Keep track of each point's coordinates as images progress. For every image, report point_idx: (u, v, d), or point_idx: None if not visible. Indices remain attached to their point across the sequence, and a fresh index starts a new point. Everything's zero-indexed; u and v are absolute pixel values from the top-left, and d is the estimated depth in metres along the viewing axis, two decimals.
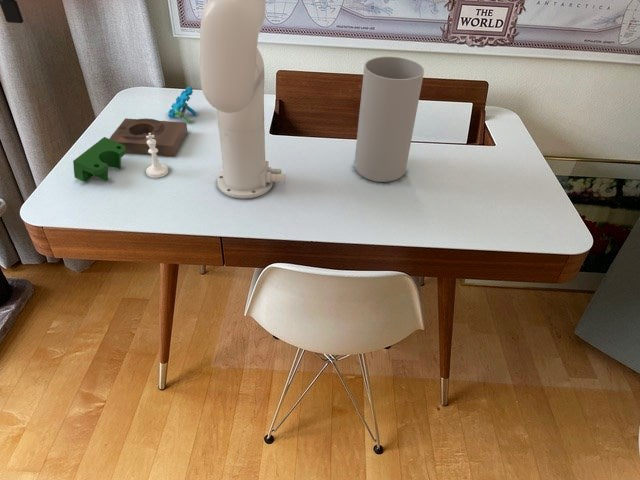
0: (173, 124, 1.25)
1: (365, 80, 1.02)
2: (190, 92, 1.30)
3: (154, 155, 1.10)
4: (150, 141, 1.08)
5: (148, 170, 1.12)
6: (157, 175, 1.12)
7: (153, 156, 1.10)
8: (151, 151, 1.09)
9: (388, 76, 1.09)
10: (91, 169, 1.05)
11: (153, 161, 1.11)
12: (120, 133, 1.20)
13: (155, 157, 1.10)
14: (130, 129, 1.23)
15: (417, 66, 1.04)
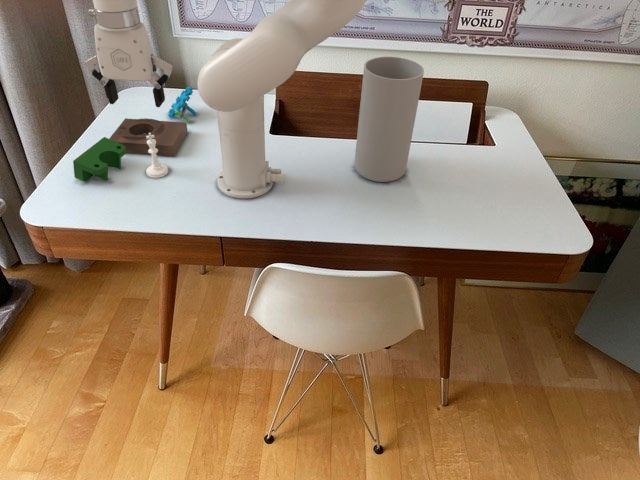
0: (173, 124, 1.25)
1: (365, 80, 1.02)
2: (190, 92, 1.30)
3: (154, 155, 1.10)
4: (150, 141, 1.08)
5: (148, 170, 1.12)
6: (157, 175, 1.12)
7: (153, 156, 1.10)
8: (151, 151, 1.09)
9: (388, 76, 1.09)
10: (91, 169, 1.05)
11: (153, 161, 1.11)
12: (120, 133, 1.20)
13: (155, 157, 1.10)
14: (130, 129, 1.23)
15: (417, 66, 1.04)
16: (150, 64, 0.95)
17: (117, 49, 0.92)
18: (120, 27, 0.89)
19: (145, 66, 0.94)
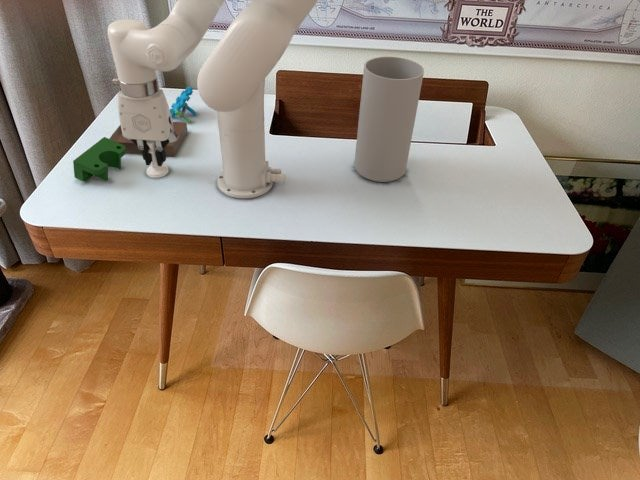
0: (173, 124, 1.25)
1: (365, 80, 1.02)
2: (190, 92, 1.30)
3: (154, 155, 1.10)
4: (150, 141, 1.08)
5: (148, 170, 1.12)
6: (157, 175, 1.12)
7: (153, 156, 1.10)
8: (151, 151, 1.09)
9: (388, 76, 1.09)
10: (91, 169, 1.05)
11: (153, 161, 1.11)
12: (120, 133, 1.20)
13: (155, 157, 1.10)
14: None
15: (417, 66, 1.04)
16: (168, 126, 1.04)
17: (138, 114, 1.01)
18: (141, 96, 0.98)
19: (163, 128, 1.03)
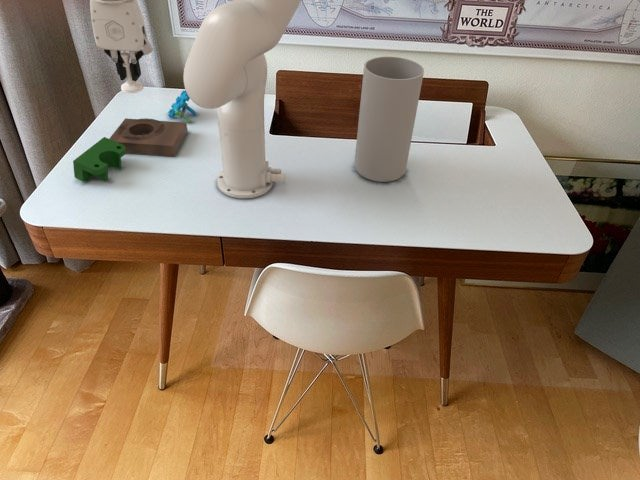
0: (173, 124, 1.25)
1: (365, 80, 1.02)
2: None
3: (128, 69, 1.10)
4: (124, 53, 1.07)
5: (123, 86, 1.12)
6: (132, 91, 1.11)
7: (127, 70, 1.10)
8: (125, 64, 1.09)
9: (388, 76, 1.09)
10: (91, 169, 1.05)
11: (128, 76, 1.10)
12: (120, 133, 1.20)
13: (129, 72, 1.10)
14: (130, 129, 1.23)
15: (417, 66, 1.04)
16: (141, 35, 1.03)
17: (111, 20, 1.00)
18: (114, 0, 0.97)
19: (137, 37, 1.03)
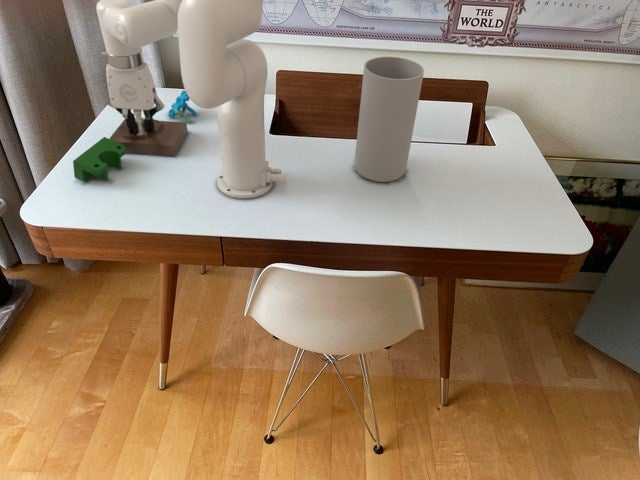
0: (173, 124, 1.25)
1: (365, 80, 1.02)
2: None
3: (140, 123, 1.21)
4: (136, 110, 1.18)
5: None
6: None
7: (139, 124, 1.21)
8: (137, 119, 1.20)
9: (388, 76, 1.09)
10: (91, 169, 1.05)
11: (139, 129, 1.22)
12: (120, 133, 1.20)
13: (141, 125, 1.21)
14: None
15: (417, 66, 1.04)
16: (152, 96, 1.15)
17: (125, 85, 1.12)
18: (127, 68, 1.09)
19: (148, 98, 1.14)
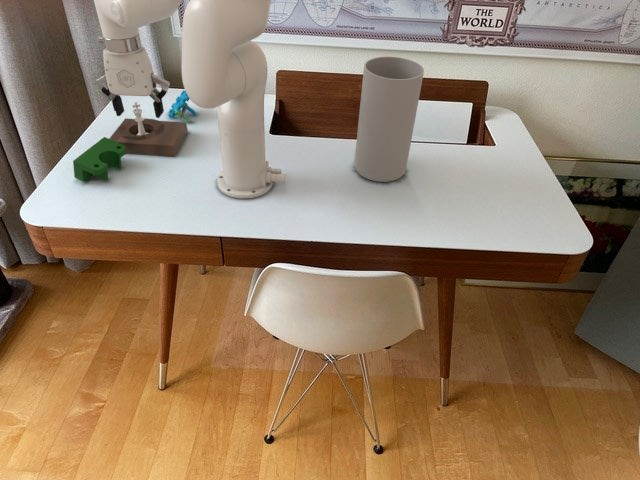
0: (173, 124, 1.25)
1: (365, 80, 1.02)
2: None
3: (140, 123, 1.21)
4: (136, 110, 1.18)
5: None
6: None
7: (139, 124, 1.21)
8: (137, 119, 1.20)
9: (388, 76, 1.09)
10: (91, 169, 1.05)
11: (139, 129, 1.22)
12: (120, 133, 1.20)
13: (141, 125, 1.21)
14: (130, 129, 1.23)
15: (417, 66, 1.04)
16: (150, 81, 1.12)
17: (122, 70, 1.09)
18: (124, 51, 1.06)
19: (146, 83, 1.11)
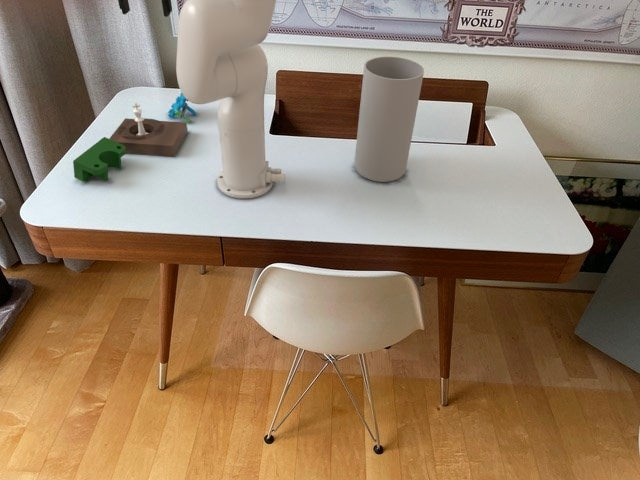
0: (173, 124, 1.25)
1: (365, 80, 1.02)
2: None
3: (140, 123, 1.21)
4: (136, 110, 1.18)
5: None
6: None
7: (139, 124, 1.21)
8: (137, 119, 1.20)
9: (388, 76, 1.09)
10: (91, 169, 1.05)
11: (139, 129, 1.22)
12: (120, 133, 1.20)
13: (141, 125, 1.21)
14: (130, 129, 1.23)
15: (417, 66, 1.04)
16: None
17: None
18: None
19: None
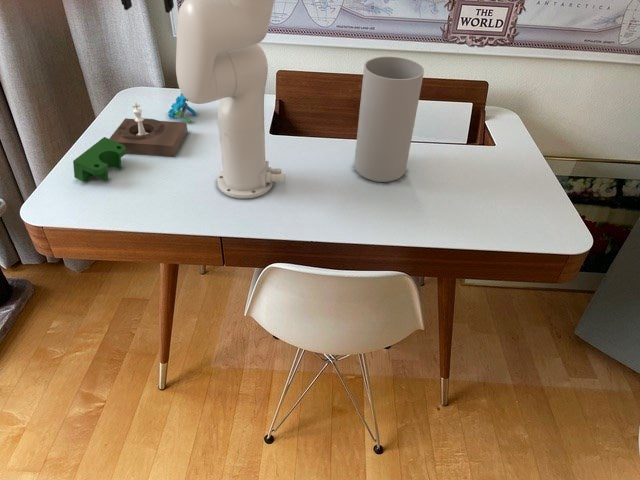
0: (173, 124, 1.25)
1: (365, 80, 1.02)
2: None
3: (140, 123, 1.21)
4: (136, 110, 1.18)
5: None
6: None
7: (139, 124, 1.21)
8: (137, 119, 1.20)
9: (388, 76, 1.09)
10: (91, 169, 1.05)
11: (139, 129, 1.22)
12: (120, 133, 1.20)
13: (141, 125, 1.21)
14: (130, 129, 1.23)
15: (417, 66, 1.04)
16: None
17: None
18: None
19: None
